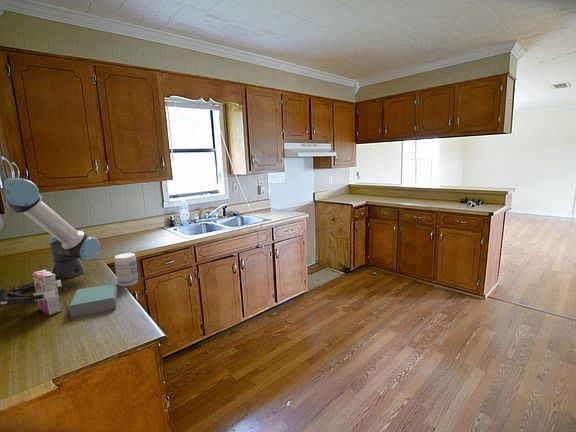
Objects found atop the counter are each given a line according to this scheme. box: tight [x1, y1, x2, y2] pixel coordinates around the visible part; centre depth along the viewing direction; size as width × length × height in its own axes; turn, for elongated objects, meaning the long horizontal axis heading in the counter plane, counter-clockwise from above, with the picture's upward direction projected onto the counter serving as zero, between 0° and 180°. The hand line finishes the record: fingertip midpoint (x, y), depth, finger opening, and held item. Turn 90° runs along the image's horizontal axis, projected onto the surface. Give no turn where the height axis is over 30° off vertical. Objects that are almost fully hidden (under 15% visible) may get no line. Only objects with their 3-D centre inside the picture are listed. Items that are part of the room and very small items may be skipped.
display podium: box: [68, 283, 119, 319], centre depth 134 cm, size 18×16×5 cm
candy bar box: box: [32, 269, 63, 316], centre depth 128 cm, size 11×5×16 cm, turn 56°
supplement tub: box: [114, 252, 139, 287], centre depth 156 cm, size 10×10×15 cm
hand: (57, 288), depth 130 cm, fingers closed on candy bar box, 12 cm apart
